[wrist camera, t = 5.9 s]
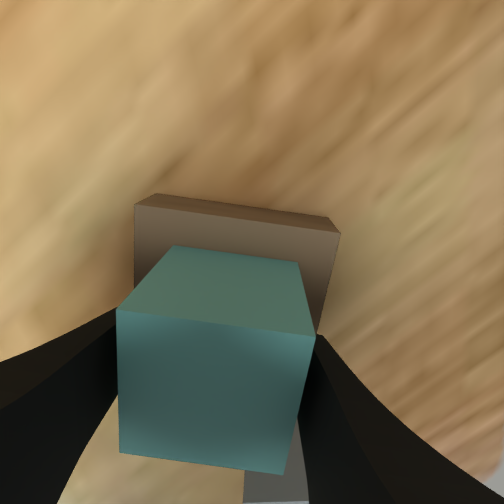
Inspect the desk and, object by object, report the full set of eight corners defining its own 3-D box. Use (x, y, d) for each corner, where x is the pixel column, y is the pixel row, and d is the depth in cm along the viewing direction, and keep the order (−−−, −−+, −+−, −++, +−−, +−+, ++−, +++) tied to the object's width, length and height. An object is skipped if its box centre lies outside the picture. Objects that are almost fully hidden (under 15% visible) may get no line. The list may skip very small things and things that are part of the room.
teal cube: (278, 363, 14) (283, 475, 9) (168, 348, 14) (119, 452, 9) (297, 262, 12) (315, 337, 8) (173, 245, 12) (115, 309, 8)
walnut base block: (296, 353, 18) (301, 394, 15) (155, 333, 17) (134, 371, 15) (326, 215, 15) (340, 233, 12) (159, 191, 15) (134, 204, 12)
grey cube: (335, 466, 20) (357, 568, 15) (257, 469, 20) (255, 569, 16) (333, 406, 18) (357, 499, 13) (248, 411, 19) (242, 503, 14)
